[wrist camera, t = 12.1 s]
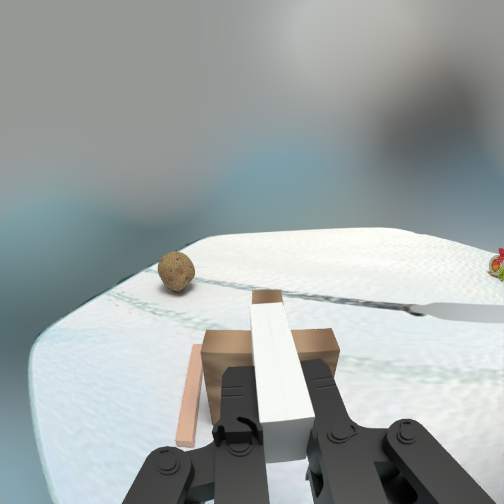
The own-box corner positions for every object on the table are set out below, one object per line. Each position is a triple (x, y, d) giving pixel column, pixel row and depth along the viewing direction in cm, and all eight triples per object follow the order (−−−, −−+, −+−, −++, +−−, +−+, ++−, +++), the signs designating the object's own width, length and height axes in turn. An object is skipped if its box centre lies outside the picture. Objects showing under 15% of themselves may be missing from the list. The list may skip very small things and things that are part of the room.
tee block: (307, 358, 43) (315, 289, 39) (321, 423, 30) (340, 349, 26) (222, 359, 44) (217, 289, 39) (212, 425, 30) (200, 352, 26)
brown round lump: (181, 279, 74) (177, 244, 71) (204, 288, 69) (201, 250, 66) (154, 291, 67) (149, 253, 64) (176, 302, 62) (171, 261, 59)
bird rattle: (488, 283, 68) (509, 281, 60) (485, 251, 69) (506, 248, 60) (492, 279, 71) (512, 277, 63) (489, 248, 71) (509, 245, 63)
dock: (314, 345, 46) (315, 339, 46) (347, 435, 28) (350, 429, 27) (194, 350, 45) (193, 344, 45) (177, 446, 27) (175, 440, 26)
